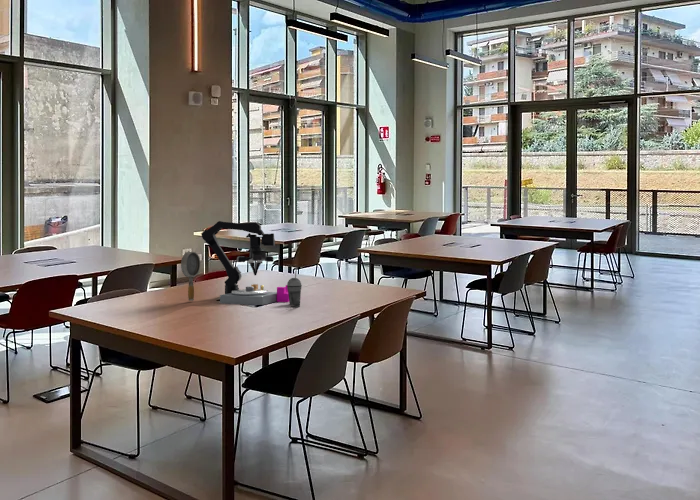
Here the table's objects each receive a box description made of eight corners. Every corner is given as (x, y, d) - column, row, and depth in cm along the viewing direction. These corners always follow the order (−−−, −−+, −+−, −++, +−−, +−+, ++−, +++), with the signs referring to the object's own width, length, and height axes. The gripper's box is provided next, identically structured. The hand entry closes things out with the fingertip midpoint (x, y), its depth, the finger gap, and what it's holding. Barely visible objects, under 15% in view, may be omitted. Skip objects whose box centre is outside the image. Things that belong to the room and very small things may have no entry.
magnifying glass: (195, 299, 337) (195, 251, 336) (200, 299, 336) (200, 251, 335) (181, 301, 324) (180, 252, 324) (186, 301, 323) (186, 252, 323)
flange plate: (239, 291, 336) (239, 284, 336) (272, 291, 334) (272, 284, 334) (226, 294, 317) (226, 287, 317) (262, 295, 315) (262, 287, 314)
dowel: (259, 292, 333) (259, 285, 333) (261, 292, 335) (261, 285, 335) (262, 292, 333) (262, 285, 333) (264, 292, 334) (264, 285, 334)
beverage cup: (287, 308, 318) (286, 268, 317) (302, 308, 318) (301, 267, 317) (287, 310, 310) (285, 269, 310) (302, 310, 311) (301, 268, 310)
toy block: (288, 302, 325) (288, 287, 325) (276, 302, 326) (276, 287, 326) (298, 299, 339) (298, 285, 339) (286, 299, 341) (286, 284, 341)
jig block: (220, 303, 318) (220, 295, 318) (241, 298, 340) (241, 291, 340) (262, 304, 311) (262, 296, 311) (281, 300, 333) (281, 292, 333)
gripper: (240, 246, 333) (240, 276, 333) (275, 246, 339) (275, 276, 339) (236, 246, 343) (236, 275, 344) (271, 245, 349) (271, 274, 350)
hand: (255, 275), depth 344 cm, fingers closed
